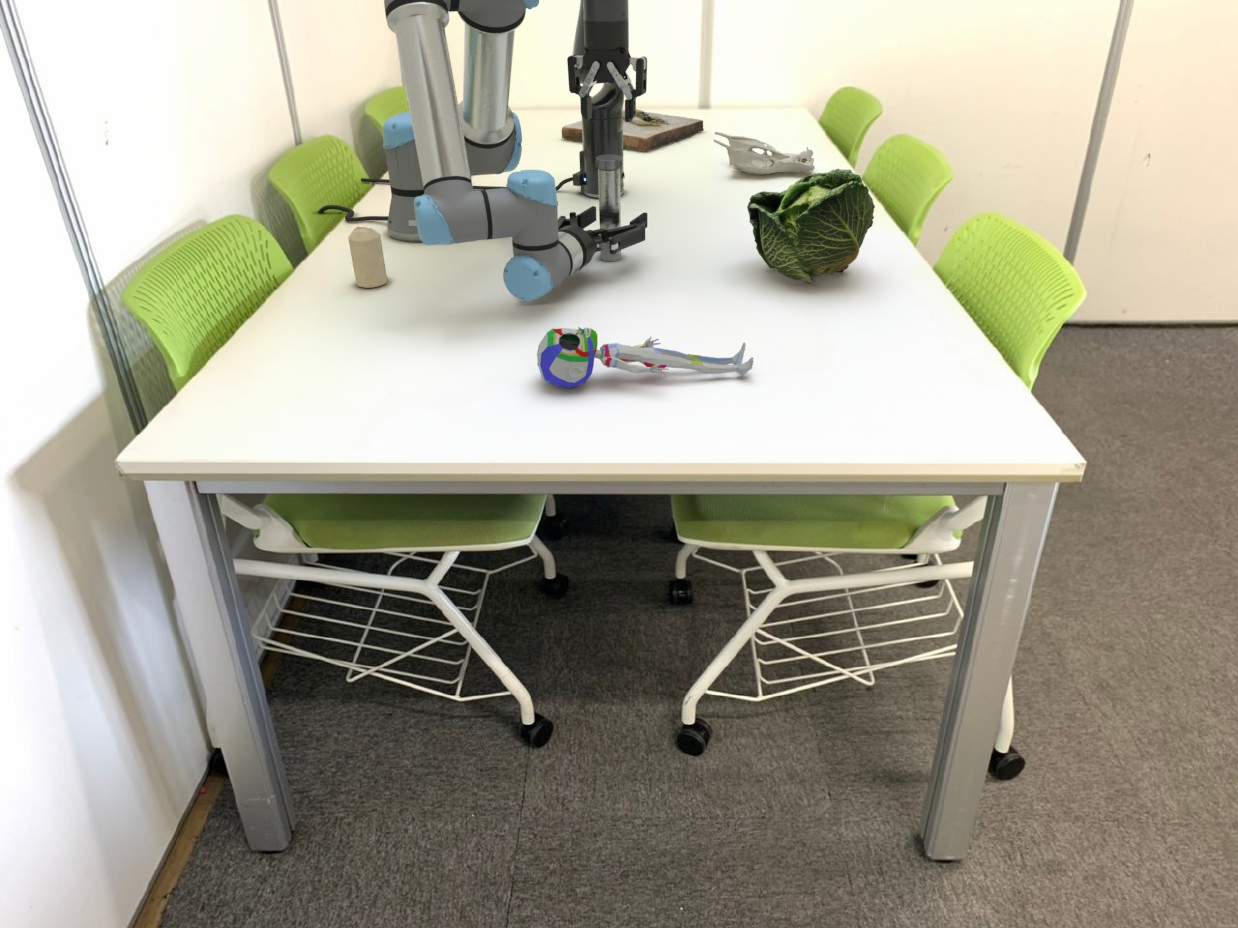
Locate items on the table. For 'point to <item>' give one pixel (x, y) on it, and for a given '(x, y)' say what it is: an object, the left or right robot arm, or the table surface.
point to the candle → (367, 257)
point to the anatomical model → (764, 157)
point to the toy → (618, 358)
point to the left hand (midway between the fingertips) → (619, 216)
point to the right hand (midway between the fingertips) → (608, 120)
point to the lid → (608, 162)
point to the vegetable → (812, 224)
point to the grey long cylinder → (609, 206)
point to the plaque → (646, 130)
